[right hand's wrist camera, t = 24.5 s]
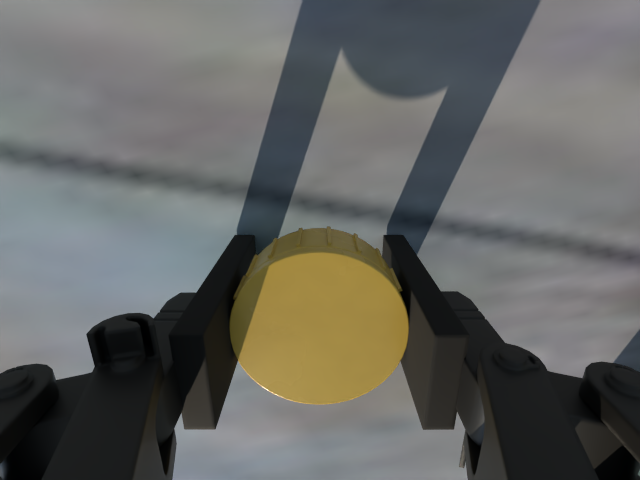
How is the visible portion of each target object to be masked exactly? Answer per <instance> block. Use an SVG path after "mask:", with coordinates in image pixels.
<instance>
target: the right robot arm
mask: <svg viewBox="0 0 640 480" xmlns="http://www.w3.org/2000/svg"><path fill="white" fill-rule="evenodd" d="M255 254H256V251H255V236H254V235H235V236H234V237H233V239H232V240H231V242H230V243H229V245H228V246H227V248H226V249H225V251H224V252H223V254H222V255H221V257H220V258H219V260H218V261H217V263H216V264H215V266H214V267H213V269H212V270H211V272H210V273H209V275H208V276H207V278H206V279H205V281H204V282H203V284H202V285H201V287H200V288H199V290H198V291H197V293H179V294H178V295H176V296H175V297H173V298H172V299H170V300H168V301H167V302H166V304H165V305H164V306H163V307H162V309H161V310H160V313H158V314H157V315H156V316H155V318H154V319H153V318H152V317H151V316H149V315H147V314H142V313H128V314H123V315H118V316H114V317H112V318H109V319H107V320H104V321H102V322H100V323H99V324H97V325H96V326H94V327H93V328H92V329H91V330H90V331H89V332H88V333H87V334H86V335H87V338H88V342H89V346H90V350H91V354H92V357H93V361H94V365H95V367H94V370H93V372H91V373H88V374H84V375H79V376H74V377H69V378H64V379H60V380H56V379H55V376H54V373H53V370H52V369H51V368H50V367H49V366H47V365H43V364H30V365H23V366H19V367H16V368H12V369H9V370H6V371H5V372H3V373H1V374H0V480H172V477H173V469H174V461H175V452H176V444H177V443H176V436H175V430H174V427H175V425H176V423H177V421H178V419H179V416H180V414H181V412H182V418H183V424H184V429H216V426H217V423H218V420H219V417H220V414H221V411H222V408H223V404H224V401H225V398H226V395H227V392H228V389H229V386H230V383H231V380H232V377H233V374H234V371H235V368H236V365H237V361H238V360H237V357H236V355H235V353H234V351H233V347H232V344H231V339H230V329H229V321H230V315H231V310H232V307H233V304H234V301H235V300H234V299H233V297H234V295H235V293H236V290H237V288H238V286H239V284H240V282H241V279H242V277H243V275H244V276H246V273H247V271H248V269H249V266H250V264H251V262H252V260H253V257H254V256H255ZM382 257H383V259H384V260H385V261H386V263H387V265H388V266H389V268H390V269H391V268H393V270H394V273H395V275H396V277H397V279H398V282H399V284H400V286H401V288H402V291H401V292H400V294H401V296H402V298H403V301H404V303H405V306H406V309H407V313H408V317H409V333H408V342H407V346H406V349H405V352H404V354H403V357H402V359H401V360H400V361H401V364H402V367H403V370H404V373H405V376H406V379H407V382H408V385H409V388H410V391H411V394H412V397H413V400H414V404H415V407H416V410H417V413H418V416H419V419H420V422H421V425H422V428H423V430H431V429H454V426H455V420H456V414H457V412H458V414H459V416H460V418H461V421H462V423H463V425H464V427H465V429H466V430H465V436H464V441H463V446H462V452H461V457H460V464H459V467H461V468H464V466H465V461H466V468H467V476H468V480H640V476H639V475H638V472H639V470H640V372H638V371H636V370H634V369H632V368H630V367H627V366H622V365H620V364H616V363H608V362H596V363H591V364H590V365H588V366H587V367H586V369H585V372H584V375H583V378H578V377H573V376H568V375H563V374H558V373H553V372H550V371H547V369H546V367H545V365H544V364H543V363H542V361H541V360H540V359H539V358H538V357H537V356H535V355H534V354H532V353H531V352H530V351H527V350H525V349H523V348H521V347H518V346H515V345H511V344H507V343H505V342H504V341H503V340H502V338H501V337H500V336H499V335H498V333H497V332H496V331H495V330H494V328H493V327H492V326H491V325H490V323H489V322H488V321H487V320H486V319H485V317H484V316H483V315H482V313H481V312H480V311H478V308H477V307H476V306H475V305H474V303H473V302H472V301H471V300H470V299H469V298H467V297H466V296H464V295H462V294H461V293H459V292H441V291H440V290H439V288H438V287H437V285H436V284H435V282H434V281H433V279H432V278H431V276H430V275H429V273H428V272H427V270H426V269H425V267H424V266H423V264H422V263H421V261H420V260H419V258H418V257H417V255H416V254H415V252H414V251H413V249H412V248H411V246H410V245H409V243H408V242H407V240H406V239H405V237H404V236H403V235H384V239H383V254H382Z"/></svg>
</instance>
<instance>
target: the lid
mask: <svg viewBox="0 0 640 480" xmlns="http://www.w3.org/2000/svg"><path fill="white" fill-rule="evenodd" d="M401 291H402V288H401V286H400V284H399V282H398V279H397V277H396V275H395V273H394V270H393V268H391V269H390V268H389V266H388V265H387V263H386V261H385V260H384V259H383V257H382V256H381V254H380V251H379V249H378V248H376V249H374V248H373V247H372V246H371V245H369V244H368V243H366V242H365V241H363V240H362V239H360V238H358V236H357V234H355V233H354V235H351V234H349V233H346V232H343V231H338V230H334V229H331V227H327V229H325V228H313V229H305V230H303V229H302V228H299V231H296V232H293V233H290V234H287V235H285V236H283V237H281V238H279V239H277V238H274V239H273V242H272V243H271V244H270V245H268V246H267V247H266V248H264V249H263V251H262V252H261V253H260V254H259V255H257V254H255V256H254V257H253V260H252V262H251V264H250V266H249V269H248V271H247V273H246V276H244V275H243V277H242V279H241V282H240V284H239V286H238V288H237V290H236V293H235V295H234V297H233V299H234V300H235V301H234V304H233V307H232V310H231V315H230V321H229V329H230V339H231V344H232V347H233V351H234V353H235V355H236V357H237V360H238V361H239V363H240V364H241V366H242V368H243V369H244V370H245V371H246V373H247V374H248V375H249V376H250V377H251V378H252V379H253V380H254V381H255V382H256V383H258V384H259V385H260V386H262V387H263V388H265V389H266V390H268V391H270V392H271V393H273V394H275V395H278V396H280V397H282V398H285V399H288V400H291V401H295V402H300V403H306V404H332V403H339V402H343V401H348V400H351V399H354V398H357V397H359V396H361V395H363V394H365V393H368V392H369V391H371V390H372V389H374V388H376V387H377V386H378V385H380V384H381V383H382V382H383V381H385V380H386V379H387V378H388V377H389V376H390V375H391V374H392V372H393V371H394V370H395V368H396V367H397V366H398V364H399V362H400V360H401V359H402V357H403V354H404V352H405V349H406V346H407V342H408V333H409V317H408V313H407V309H406V306H405V303H404V301H403V298H402V296H401V294H400V292H401Z"/></svg>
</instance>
